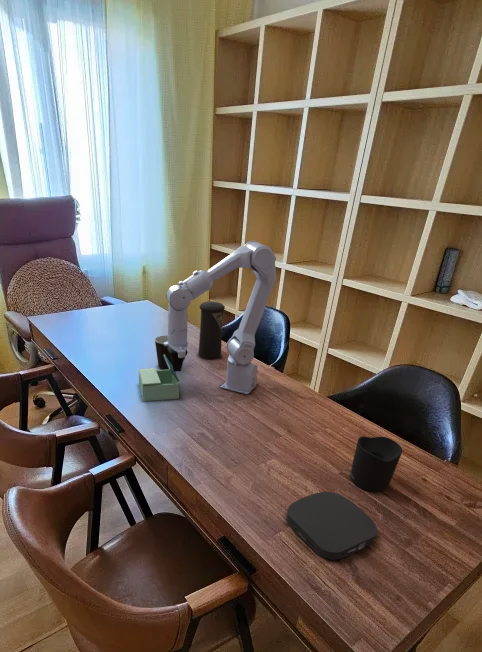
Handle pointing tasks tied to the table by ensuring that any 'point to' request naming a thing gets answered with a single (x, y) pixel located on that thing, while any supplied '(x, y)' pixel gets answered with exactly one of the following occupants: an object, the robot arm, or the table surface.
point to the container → (211, 330)
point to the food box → (158, 384)
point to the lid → (171, 368)
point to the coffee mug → (162, 352)
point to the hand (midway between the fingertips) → (177, 370)
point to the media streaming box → (331, 524)
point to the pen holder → (374, 463)
